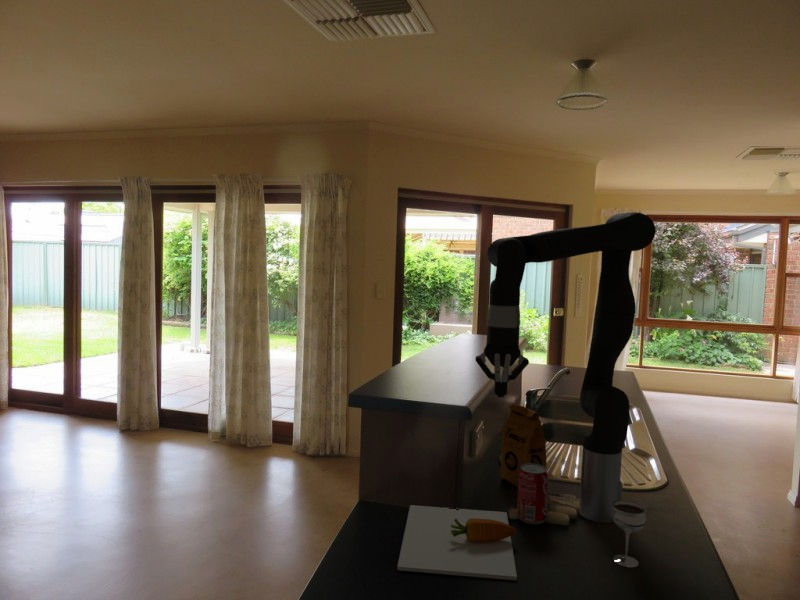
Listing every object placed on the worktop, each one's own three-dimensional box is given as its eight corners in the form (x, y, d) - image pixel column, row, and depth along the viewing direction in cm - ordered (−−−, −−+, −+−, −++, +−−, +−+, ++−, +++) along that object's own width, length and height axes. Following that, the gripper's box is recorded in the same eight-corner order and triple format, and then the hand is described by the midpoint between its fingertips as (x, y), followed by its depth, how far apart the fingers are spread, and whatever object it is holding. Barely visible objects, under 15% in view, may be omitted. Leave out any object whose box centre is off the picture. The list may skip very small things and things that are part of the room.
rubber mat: (506, 515, 142) (506, 512, 141) (516, 580, 114) (516, 576, 114) (410, 508, 144) (410, 505, 144) (397, 570, 116) (397, 566, 116)
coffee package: (521, 495, 153) (525, 415, 151) (495, 478, 164) (498, 403, 162) (551, 490, 157) (555, 412, 155) (523, 473, 168) (527, 400, 166)
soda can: (547, 527, 136) (550, 475, 134) (516, 524, 137) (518, 471, 136) (545, 514, 143) (548, 464, 141) (516, 511, 144) (518, 461, 143)
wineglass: (604, 551, 126) (607, 499, 124) (635, 552, 125) (639, 500, 124) (615, 569, 119) (618, 513, 118) (648, 570, 119) (652, 515, 118)
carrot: (512, 529, 131) (447, 528, 130) (515, 514, 129) (449, 513, 128) (516, 547, 127) (450, 547, 126) (520, 532, 125) (452, 531, 124)
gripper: (530, 323, 136) (527, 394, 138) (474, 320, 138) (472, 391, 139) (534, 327, 129) (530, 402, 131) (475, 325, 130) (472, 399, 132)
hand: (500, 396), depth 135 cm, fingers closed
